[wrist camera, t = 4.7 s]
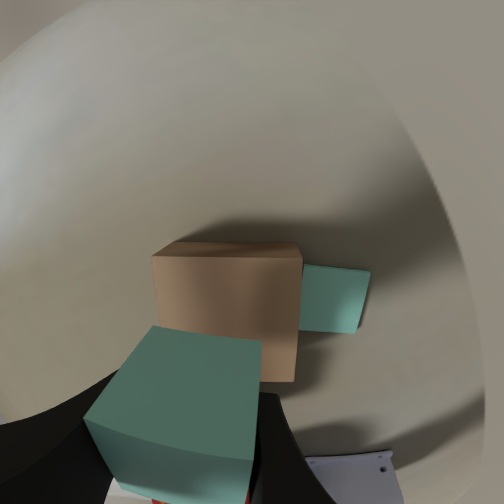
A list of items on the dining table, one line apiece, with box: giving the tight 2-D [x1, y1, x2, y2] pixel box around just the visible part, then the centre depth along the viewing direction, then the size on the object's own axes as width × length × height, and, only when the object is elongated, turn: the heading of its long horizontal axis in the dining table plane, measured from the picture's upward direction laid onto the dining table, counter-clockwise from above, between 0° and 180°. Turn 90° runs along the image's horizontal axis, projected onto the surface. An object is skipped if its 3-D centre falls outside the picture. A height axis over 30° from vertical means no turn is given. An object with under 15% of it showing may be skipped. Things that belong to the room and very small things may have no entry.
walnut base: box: [151, 242, 303, 382], centre depth 15 cm, size 7×7×4 cm
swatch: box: [299, 264, 371, 334], centre depth 16 cm, size 4×4×1 cm
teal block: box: [83, 326, 262, 504], centre depth 7 cm, size 4×4×5 cm
